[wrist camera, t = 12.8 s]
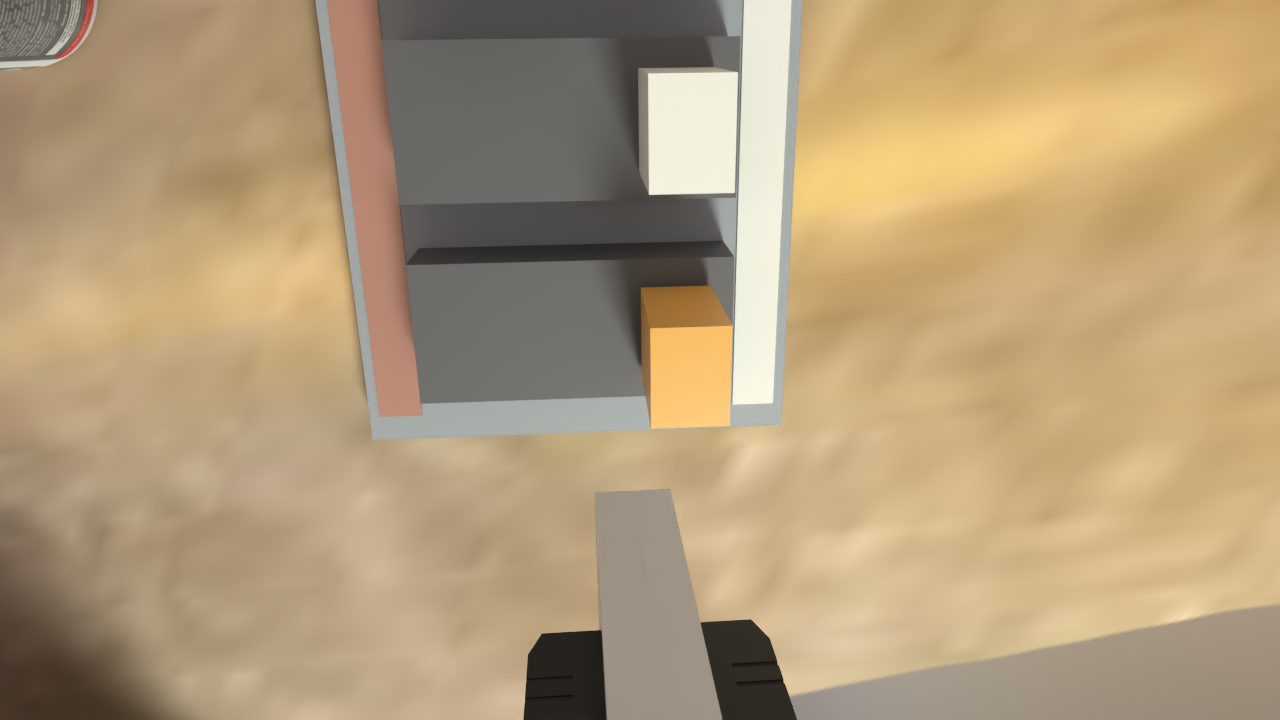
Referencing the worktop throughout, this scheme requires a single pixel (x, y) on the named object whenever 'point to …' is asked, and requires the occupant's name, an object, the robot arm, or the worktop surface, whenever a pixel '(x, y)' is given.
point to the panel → (558, 200)
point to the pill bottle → (42, 31)
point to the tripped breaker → (685, 357)
